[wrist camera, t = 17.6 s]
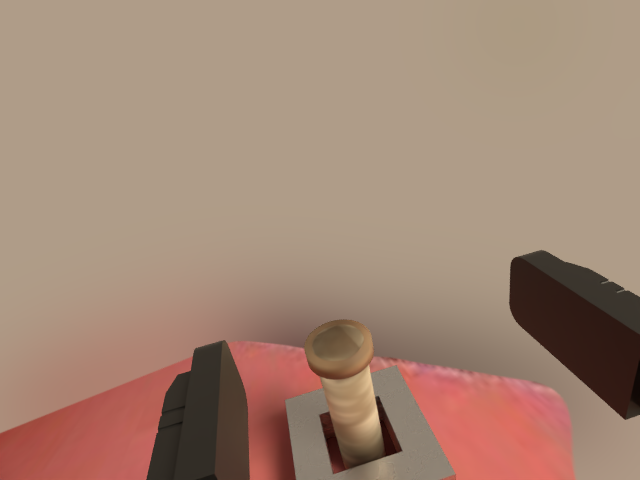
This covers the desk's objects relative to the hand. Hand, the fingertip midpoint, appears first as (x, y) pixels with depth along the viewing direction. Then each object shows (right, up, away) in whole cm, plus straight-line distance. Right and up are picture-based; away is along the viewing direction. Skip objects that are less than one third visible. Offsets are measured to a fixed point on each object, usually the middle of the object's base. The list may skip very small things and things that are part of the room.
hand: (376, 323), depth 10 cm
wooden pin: (+3, -18, +24) cm, 30 cm away
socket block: (+2, -18, +25) cm, 30 cm away
